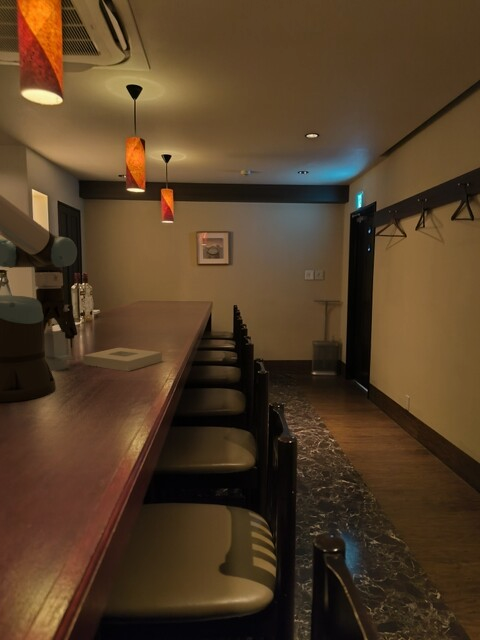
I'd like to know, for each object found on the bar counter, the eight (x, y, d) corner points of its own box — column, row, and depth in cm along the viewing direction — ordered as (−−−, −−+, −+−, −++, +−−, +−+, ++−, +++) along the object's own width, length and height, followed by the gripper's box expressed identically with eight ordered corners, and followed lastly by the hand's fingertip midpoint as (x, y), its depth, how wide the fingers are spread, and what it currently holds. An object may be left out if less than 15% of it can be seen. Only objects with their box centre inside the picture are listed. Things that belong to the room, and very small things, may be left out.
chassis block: (128, 371, 123) (127, 361, 123) (83, 364, 133) (83, 355, 132) (162, 361, 136) (161, 352, 136) (119, 356, 146) (119, 347, 145)
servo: (62, 371, 124) (59, 331, 122) (36, 367, 130) (33, 328, 128) (73, 369, 127) (71, 329, 126) (48, 364, 133) (45, 327, 132)
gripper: (23, 289, 114) (29, 370, 117) (87, 286, 133) (91, 356, 135) (7, 288, 118) (13, 368, 121) (71, 286, 137) (75, 354, 139)
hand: (54, 362), depth 128 cm, fingers open, 9 cm apart
